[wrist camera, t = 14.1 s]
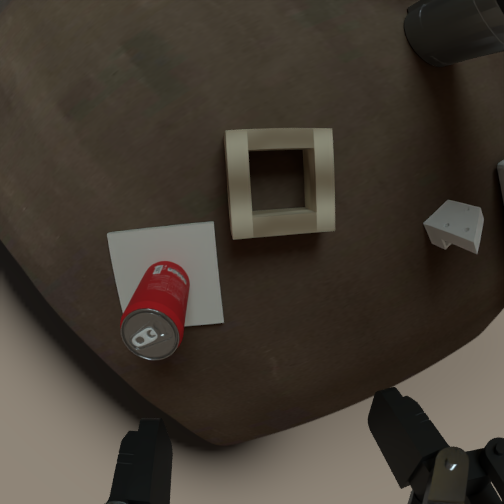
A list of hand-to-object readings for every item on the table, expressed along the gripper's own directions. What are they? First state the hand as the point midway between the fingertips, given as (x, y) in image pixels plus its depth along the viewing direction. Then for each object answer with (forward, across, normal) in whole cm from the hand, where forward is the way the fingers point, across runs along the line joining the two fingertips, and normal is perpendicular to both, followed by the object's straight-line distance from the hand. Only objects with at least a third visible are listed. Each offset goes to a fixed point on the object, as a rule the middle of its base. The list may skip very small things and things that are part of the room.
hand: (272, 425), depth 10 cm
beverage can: (+25, +8, +4) cm, 26 cm away
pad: (+25, +8, +4) cm, 27 cm away
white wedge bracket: (+26, -29, -1) cm, 39 cm away
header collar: (+26, -5, -6) cm, 27 cm away
